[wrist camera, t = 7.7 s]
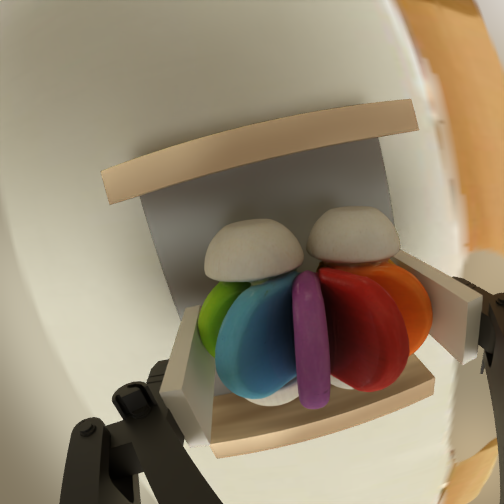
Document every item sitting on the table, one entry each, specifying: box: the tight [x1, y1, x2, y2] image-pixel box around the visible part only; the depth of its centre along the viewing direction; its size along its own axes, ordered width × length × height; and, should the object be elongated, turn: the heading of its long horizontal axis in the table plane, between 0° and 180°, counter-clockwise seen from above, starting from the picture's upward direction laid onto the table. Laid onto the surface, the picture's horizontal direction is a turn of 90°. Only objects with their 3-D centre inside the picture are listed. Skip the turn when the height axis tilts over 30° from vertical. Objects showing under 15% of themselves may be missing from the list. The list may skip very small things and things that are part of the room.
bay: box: [101, 99, 435, 459], centre depth 17 cm, size 17×14×5 cm
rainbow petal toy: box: [198, 206, 433, 409], centre depth 12 cm, size 8×10×7 cm
